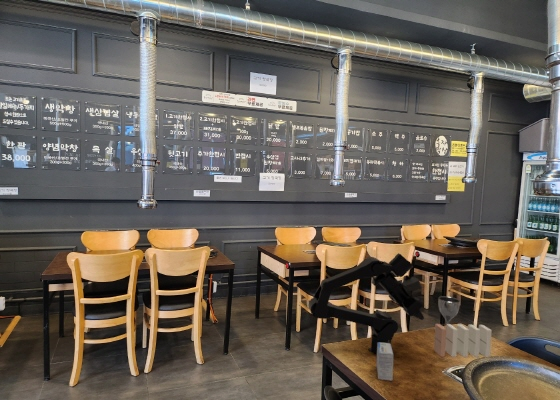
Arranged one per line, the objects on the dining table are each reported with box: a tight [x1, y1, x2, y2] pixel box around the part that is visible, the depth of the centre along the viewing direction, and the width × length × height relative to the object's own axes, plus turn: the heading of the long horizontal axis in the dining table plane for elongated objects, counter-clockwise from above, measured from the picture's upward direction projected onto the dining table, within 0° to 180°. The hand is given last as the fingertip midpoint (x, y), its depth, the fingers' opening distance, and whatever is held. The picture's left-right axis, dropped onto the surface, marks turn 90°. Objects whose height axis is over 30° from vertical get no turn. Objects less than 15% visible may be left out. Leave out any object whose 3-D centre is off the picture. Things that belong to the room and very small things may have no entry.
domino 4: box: [467, 324, 480, 358], centre depth 131 cm, size 2×5×10 cm, turn 3°
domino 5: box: [478, 324, 493, 357], centre depth 131 cm, size 2×5×10 cm, turn 3°
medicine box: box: [375, 342, 394, 382], centre depth 114 cm, size 8×4×9 cm, turn 168°
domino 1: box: [433, 323, 446, 357], centre depth 130 cm, size 2×5×10 cm, turn 3°
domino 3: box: [456, 323, 469, 358], centre depth 130 cm, size 2×5×10 cm, turn 3°
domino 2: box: [445, 323, 458, 358], centre depth 130 cm, size 2×5×10 cm, turn 3°
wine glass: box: [438, 295, 461, 324], centre depth 147 cm, size 8×8×15 cm
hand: (419, 316), depth 129 cm, fingers open, 5 cm apart
